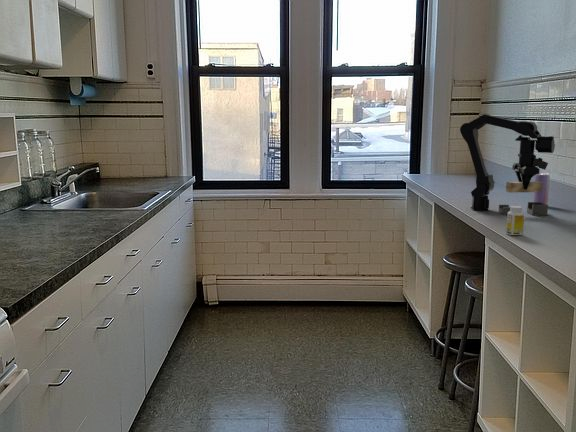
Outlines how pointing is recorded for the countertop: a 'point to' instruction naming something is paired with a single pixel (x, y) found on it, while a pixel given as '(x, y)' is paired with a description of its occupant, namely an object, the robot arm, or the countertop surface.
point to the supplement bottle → (515, 221)
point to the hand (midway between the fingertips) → (524, 188)
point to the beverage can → (542, 195)
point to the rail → (519, 187)
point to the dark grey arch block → (504, 209)
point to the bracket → (537, 208)
